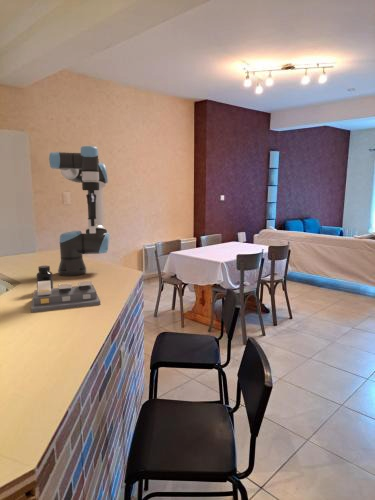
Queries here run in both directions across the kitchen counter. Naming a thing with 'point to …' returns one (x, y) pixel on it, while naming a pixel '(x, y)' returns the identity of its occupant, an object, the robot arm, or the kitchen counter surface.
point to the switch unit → (65, 298)
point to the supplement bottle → (44, 275)
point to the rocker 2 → (65, 285)
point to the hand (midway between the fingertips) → (92, 233)
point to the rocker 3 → (84, 283)
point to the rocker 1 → (44, 288)
